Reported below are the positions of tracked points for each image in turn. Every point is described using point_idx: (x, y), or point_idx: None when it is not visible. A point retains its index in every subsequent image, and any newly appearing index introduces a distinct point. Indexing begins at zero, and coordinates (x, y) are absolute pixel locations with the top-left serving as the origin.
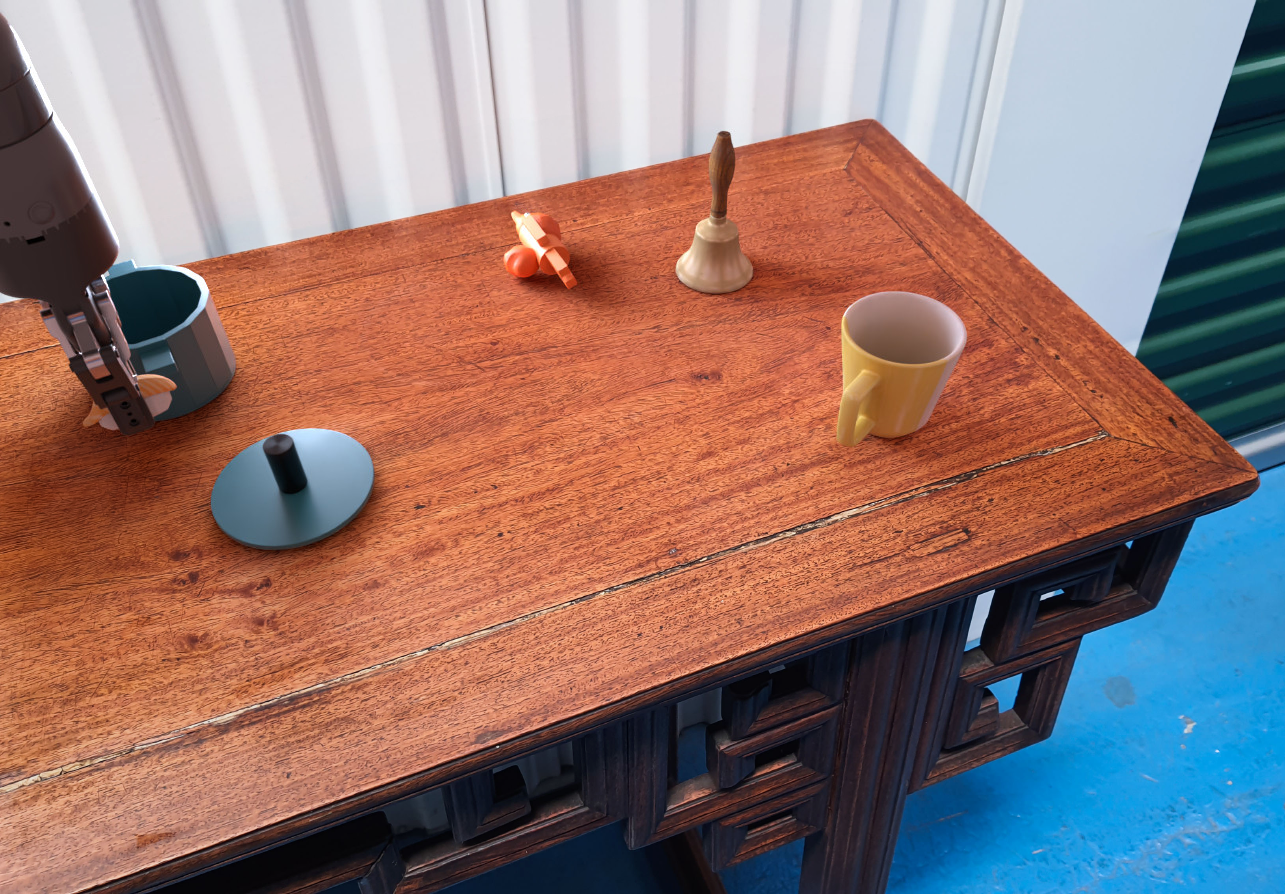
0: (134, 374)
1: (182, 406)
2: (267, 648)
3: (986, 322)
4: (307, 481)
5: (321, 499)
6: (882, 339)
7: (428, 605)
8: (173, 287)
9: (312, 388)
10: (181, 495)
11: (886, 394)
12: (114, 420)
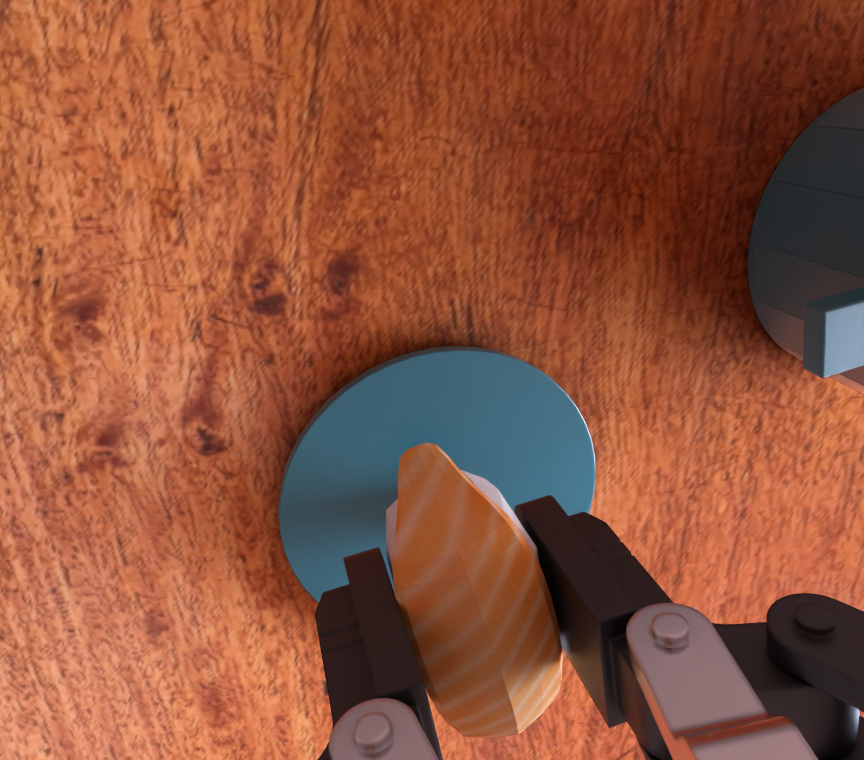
0: (569, 659)
1: (762, 277)
2: (31, 454)
3: None
4: None
5: (384, 554)
6: None
7: (83, 709)
8: None
9: (702, 505)
10: (516, 270)
11: None
12: (354, 601)
